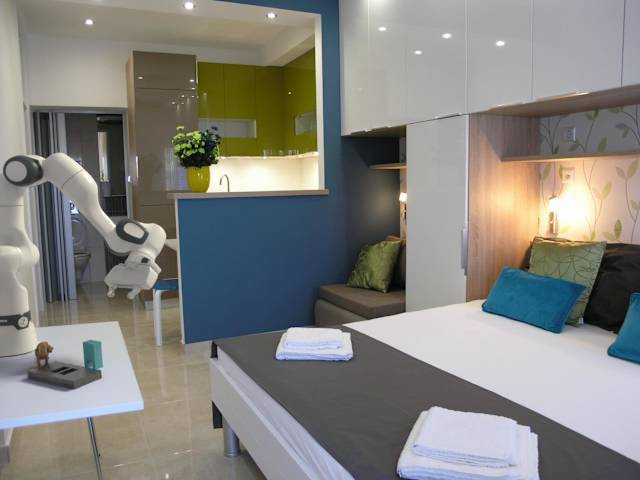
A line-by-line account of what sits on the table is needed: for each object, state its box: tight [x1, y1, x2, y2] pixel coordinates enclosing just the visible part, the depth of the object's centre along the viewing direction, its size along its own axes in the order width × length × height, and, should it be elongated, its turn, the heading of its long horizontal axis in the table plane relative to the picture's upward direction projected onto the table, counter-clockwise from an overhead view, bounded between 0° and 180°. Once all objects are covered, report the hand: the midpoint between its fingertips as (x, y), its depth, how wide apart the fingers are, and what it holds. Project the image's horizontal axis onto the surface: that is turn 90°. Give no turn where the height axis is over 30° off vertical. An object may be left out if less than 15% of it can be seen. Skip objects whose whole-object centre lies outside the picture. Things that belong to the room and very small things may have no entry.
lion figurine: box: [34, 341, 54, 368], centre depth 188 cm, size 15×5×9 cm, turn 34°
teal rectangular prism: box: [82, 339, 104, 370], centre depth 183 cm, size 5×3×8 cm, turn 63°
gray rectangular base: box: [27, 360, 103, 390], centre depth 174 cm, size 21×10×2 cm, turn 63°
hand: (119, 297), depth 192 cm, fingers open, 8 cm apart
